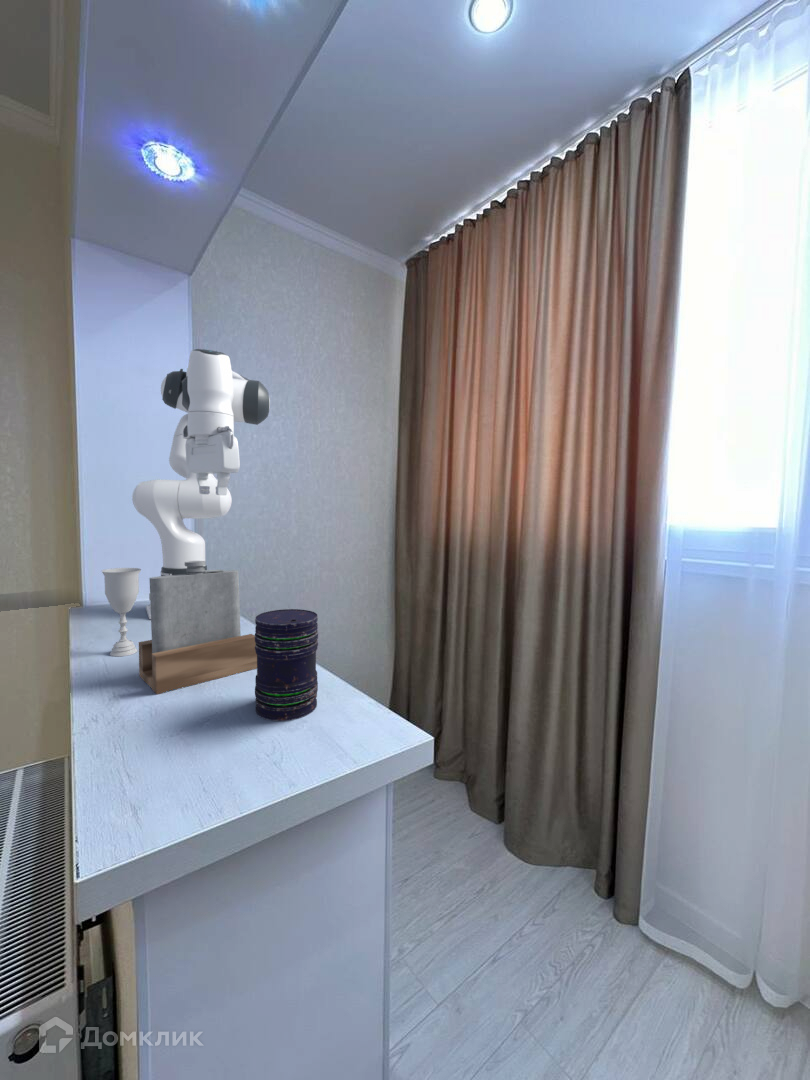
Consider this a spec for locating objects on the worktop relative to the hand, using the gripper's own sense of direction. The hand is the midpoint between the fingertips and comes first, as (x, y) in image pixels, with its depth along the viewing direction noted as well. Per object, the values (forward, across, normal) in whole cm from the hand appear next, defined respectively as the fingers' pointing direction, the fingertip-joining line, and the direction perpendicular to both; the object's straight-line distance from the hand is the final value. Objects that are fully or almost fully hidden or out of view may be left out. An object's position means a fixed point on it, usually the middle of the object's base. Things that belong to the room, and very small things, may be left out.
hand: (212, 494), depth 93 cm
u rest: (+34, -11, +7) cm, 37 cm away
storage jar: (+34, -35, +2) cm, 49 cm away
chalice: (+35, +11, +15) cm, 39 cm away
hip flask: (+33, -11, +7) cm, 35 cm away
